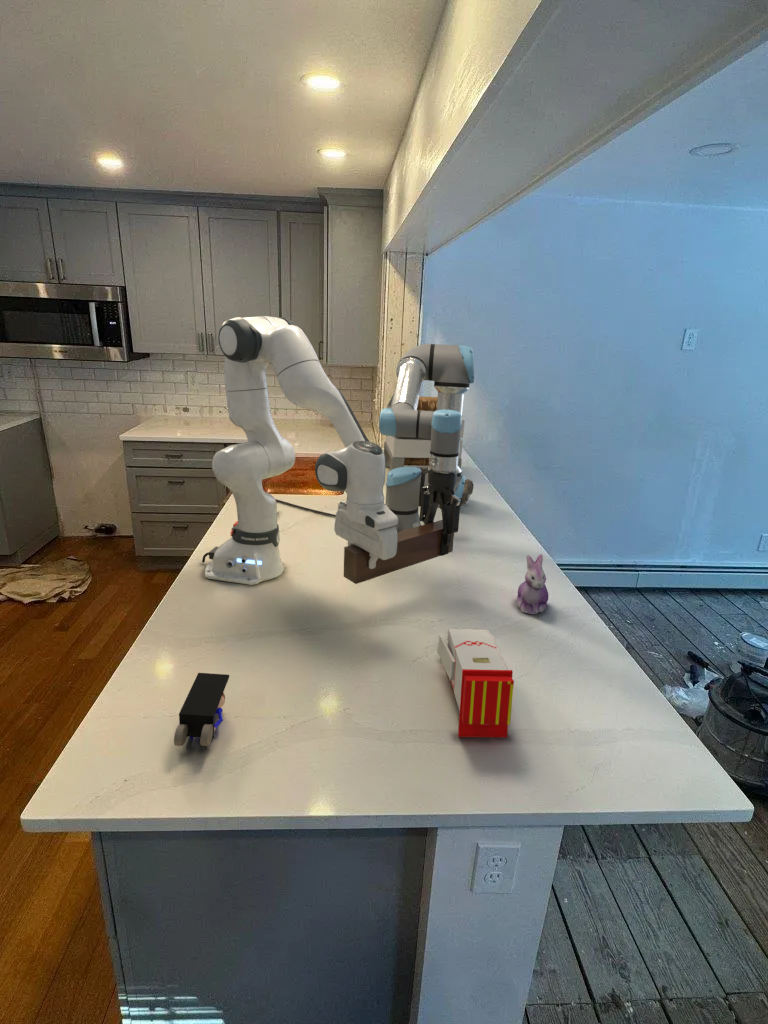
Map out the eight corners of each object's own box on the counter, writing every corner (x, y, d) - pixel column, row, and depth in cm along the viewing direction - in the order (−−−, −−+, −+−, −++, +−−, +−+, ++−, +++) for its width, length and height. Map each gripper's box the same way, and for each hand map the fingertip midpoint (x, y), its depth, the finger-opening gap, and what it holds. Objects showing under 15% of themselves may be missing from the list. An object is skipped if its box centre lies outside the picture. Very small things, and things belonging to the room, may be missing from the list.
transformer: (382, 463, 289) (386, 382, 275) (445, 464, 293) (451, 384, 279) (390, 482, 257) (394, 392, 243) (460, 483, 261) (468, 394, 247)
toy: (488, 613, 130) (523, 677, 101) (484, 667, 133) (517, 744, 104) (435, 612, 130) (455, 676, 101) (432, 666, 133) (451, 743, 103)
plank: (343, 576, 140) (344, 546, 137) (439, 545, 161) (441, 519, 158) (355, 584, 137) (356, 554, 134) (452, 551, 158) (455, 525, 155)
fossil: (437, 485, 243) (466, 466, 238) (450, 501, 245) (479, 483, 240) (436, 507, 223) (469, 487, 218) (450, 525, 226) (482, 505, 221)
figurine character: (213, 763, 99) (233, 700, 112) (209, 732, 95) (230, 670, 109) (174, 763, 99) (198, 699, 112) (169, 731, 95) (194, 669, 109)
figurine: (531, 619, 148) (539, 566, 143) (506, 601, 156) (512, 551, 151) (558, 611, 152) (567, 560, 147) (532, 595, 160) (539, 546, 155)
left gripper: (328, 500, 140) (328, 551, 145) (382, 525, 126) (379, 581, 131) (349, 496, 144) (347, 546, 149) (403, 520, 130) (399, 574, 134)
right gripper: (409, 464, 153) (404, 543, 161) (458, 480, 140) (450, 565, 148) (428, 460, 158) (423, 537, 166) (478, 476, 145) (469, 558, 153)
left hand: (363, 563), depth 140 cm, fingers closed on plank, 5 cm apart
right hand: (436, 550), depth 157 cm, fingers closed on plank, 5 cm apart
